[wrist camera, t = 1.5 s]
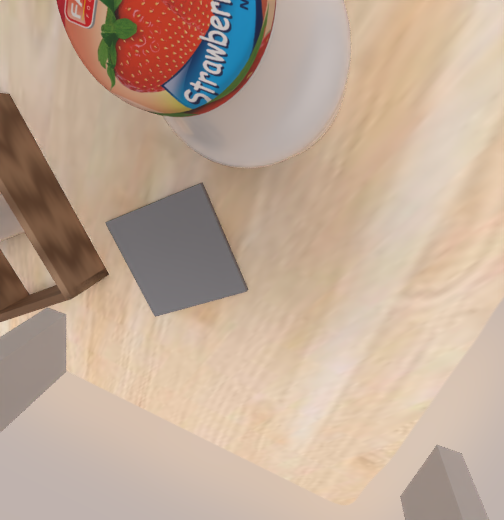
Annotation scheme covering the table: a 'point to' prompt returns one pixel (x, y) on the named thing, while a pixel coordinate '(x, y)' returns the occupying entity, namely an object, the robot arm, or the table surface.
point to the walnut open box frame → (40, 222)
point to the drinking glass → (8, 221)
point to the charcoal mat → (178, 252)
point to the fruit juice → (222, 68)
